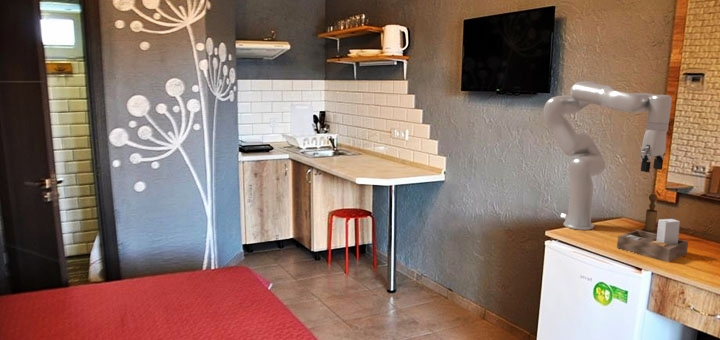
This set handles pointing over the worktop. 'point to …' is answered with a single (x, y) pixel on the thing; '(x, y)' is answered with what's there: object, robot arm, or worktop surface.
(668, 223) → the skincare box
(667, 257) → the socket block
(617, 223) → the worktop surface
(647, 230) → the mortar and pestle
